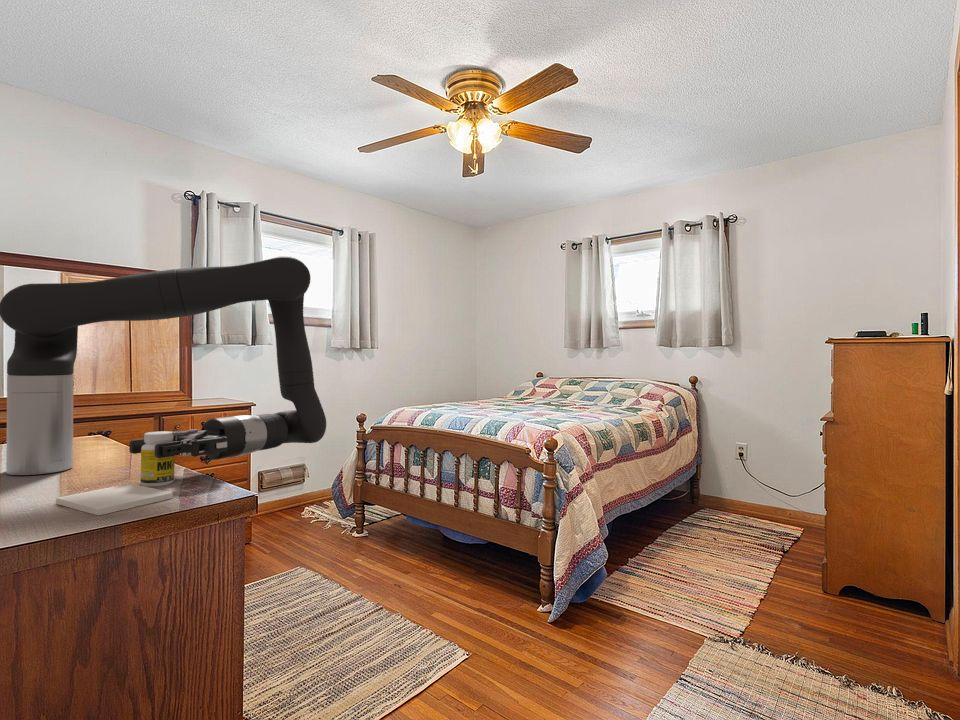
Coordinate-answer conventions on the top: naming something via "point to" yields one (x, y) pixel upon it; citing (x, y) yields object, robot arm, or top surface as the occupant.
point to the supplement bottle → (156, 461)
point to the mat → (113, 498)
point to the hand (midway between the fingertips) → (143, 449)
